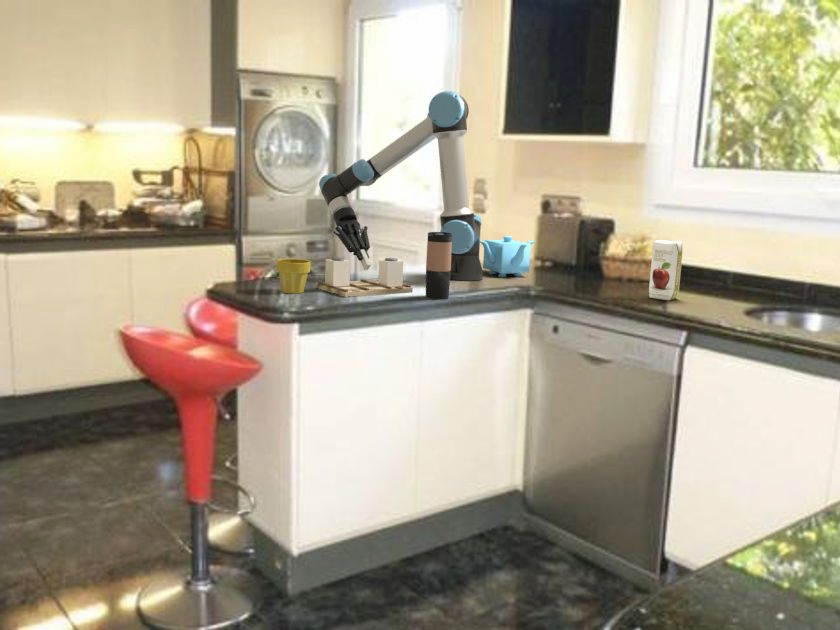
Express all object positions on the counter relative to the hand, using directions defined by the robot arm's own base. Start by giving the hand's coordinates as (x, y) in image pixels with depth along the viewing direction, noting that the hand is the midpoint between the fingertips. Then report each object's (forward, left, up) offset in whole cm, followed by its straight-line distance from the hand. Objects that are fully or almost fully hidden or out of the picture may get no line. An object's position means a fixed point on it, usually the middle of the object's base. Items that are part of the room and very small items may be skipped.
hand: (367, 267), depth 279 cm
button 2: (-5, +13, -4) cm, 14 cm away
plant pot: (+27, +15, -6) cm, 31 cm away
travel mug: (-16, +27, -6) cm, 32 cm away
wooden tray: (+4, +13, -6) cm, 14 cm away
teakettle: (-58, -19, -6) cm, 62 cm away
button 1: (+13, +12, -4) cm, 18 cm away
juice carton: (-93, +32, -6) cm, 99 cm away
